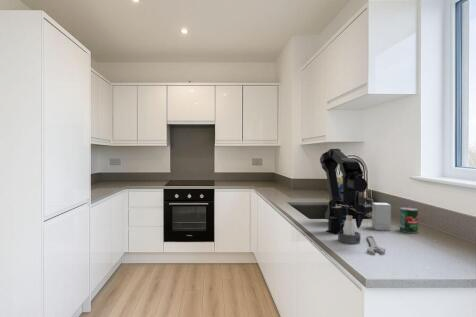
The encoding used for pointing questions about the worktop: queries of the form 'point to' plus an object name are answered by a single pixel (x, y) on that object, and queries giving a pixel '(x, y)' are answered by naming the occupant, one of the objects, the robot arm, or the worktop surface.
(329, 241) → the worktop surface
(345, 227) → the salt shaker
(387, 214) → the supplement box
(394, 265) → the worktop surface
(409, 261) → the worktop surface
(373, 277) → the worktop surface
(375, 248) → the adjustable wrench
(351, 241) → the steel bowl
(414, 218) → the canned tomato
